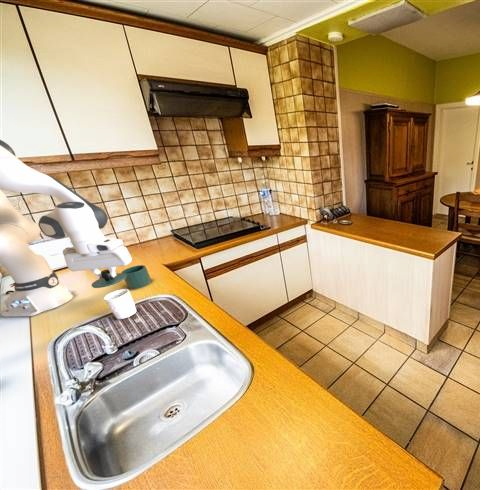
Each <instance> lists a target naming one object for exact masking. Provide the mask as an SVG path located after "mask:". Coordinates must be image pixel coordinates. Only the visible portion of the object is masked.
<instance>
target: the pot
mask: <svg viewBox="0 0 480 490" xmlns="http://www.w3.org/2000/svg"><path fill="white" fill-rule="evenodd" d="M120 273H125V274H126V275H127V277H126V278H125V279H124V280H123V281H124V282H125V285H126V287H127V289H128V290H136V289H137V290H138V289H141V288H144V287H146V286H148V285H149V284H151V283H152V278H151V275H150V273H149V271H148V269H147V267H146V265H143V264H141V265H139V264H138V265H134V266H131V267H128V268H126V269H123V270H122V271H121V272H120Z"/></svg>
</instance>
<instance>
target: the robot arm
mask: <svg viewBox="0 0 480 490" xmlns="http://www.w3.org/2000/svg"><path fill="white" fill-rule="evenodd" d="M4 191H5V192H11V193H27V194H28V193H29V194H43V195H48V196H51V197H54V198H56V199H58V200H59V201H60V202H61V203H58V204H56V205H55V206H54V209H53V210H52V211H51V212H48V213H47V214H44V215H42V216H40V218H39V220H38V223H36V222H35V221H33V220H31V219H28V218H27V217H26V216H24V215H23V214H22V213H21V212H20V211H18V209H16V208H15V206H14V205H13V204H12V203H11V201H10V200H9V198H8V197H7V196H6V194H5V193H4ZM108 220H109V216H108V214H107V212H106V211H105V209H103V208H102V207H100V206H98V205H97V204H95V203H92V202H91V201H89V200H88V199H86V198H85V197H83V196H82V195H80V194H79V193H77V192H76V191H74V190H73V189H72V188H70V187H69V186H67V184H65V183H64V182H62V181H60V180H59V179H57V178H56V177H54V176H52V175H51V174H48V173H43V172H40V171H38V170H36V169H34V168H32V167H30V166H28V165H27V164H25V163H24V162H23V161H21V159H20V158H18V157H17V155H16V153H15V151H14V150H13V148H12V147H11V145H9V144H8V143H7V142H5V141H4V140H2V139H0V265H1V266H2V268H4V269H5V271H6V272H7V273H8V275H9V276H10V277H11V279H12V280H13V283H11V284H9V285H8V286H9V287H10V288H13V287H14V290H7V291H6V292H5V295H9V294H10V293H11V294H10V295H9V296H8V297H7V298H6V300H5V301H4V305H5V307H6V309H5V310H4V311H3V312H2V313H1V317H2V318H3V317H6V318H7V317H10V318H12V317H33V316H37V315H38V314H42V313H44V312H47V311H50V310H53V309H56V308H58V307H60V306H63V305H65V304H67V303H68V302H69V301H71V300H72V299H73V298H74V295H73V294H72V292H71V290H69V289H68V287H67V286H65V285H64V283H63V282H62V281H61V280H60V279H59V276H58V275H57V273H56V272H55V271H54V270H52V268H51V266H50V264H49V263H48V261H47V260H46V258H45V256H43V255H41V254H37V253H35V252H34V251H33V250H32V249H31V248H30V247H29V246H28V245H29V244H31V243H32V242H34V241H36V240H37V238H38V237H39V236H40V235H41V233H42V234H43V235H45V237H48V238H51V239H54V240H62V239H67V238H69V240H70V243H71V245H72V247H71V246H70V247H65V248H64V249H63V250H62V255H63V256H64V261H65V264H66V267H67V268H68V269H69V270H70V271H71V272H80V271H81V272H82V271H89V270H90V272H91V273H92V274H94V275H95V276H97V279H102V278H104V277H103V276H102V274H101V271H102V270H101V269H108V270H109V271H110V273H108V276H109V277H110V278H111V277H115V276H116V274H117V273H116V269H117V268H118V267H126V266H128V265H130V264H131V263H132V261H133V258H132V256H131V254H130V252H129V250H128V248H127V247H126V246H124V245H123V244H124V242H123V240H122V239H121V238H115V237H109V236H105V234H104V233H103V231H102V230H103V229H104V228H105V227H106V225H107V224H108ZM101 229H102V230H101Z"/></svg>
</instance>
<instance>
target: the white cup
mask: <svg viewBox="0 0 480 490" xmlns="http://www.w3.org/2000/svg"><path fill="white" fill-rule="evenodd" d="M103 300H104V302H105V304H106V305H107V307H108V308H109V310H110V312H111V313H112V314H113V315H114V317H115V319H117V320H125V319H127V318H129V317H132V316H133V315H135V314H136V313H137V307H136V304H135V302H134V299H133V296H132V294H131V291H130V289H129V288H122V289H117V290H114V291H112V292H109V293H108V294H106V295H105V296H103Z"/></svg>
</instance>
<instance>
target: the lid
mask: <svg viewBox="0 0 480 490" xmlns="http://www.w3.org/2000/svg"><path fill="white" fill-rule="evenodd" d="M100 271H101V274H102V276H103V277H104V278H102V279H99V278H97V280H95V281H93V282H92V283H91V287H92V288H93V289H102V288H106V287H110V286H113V285H116V284H119V283H120V282H122V281H125V280H124V279H125V278H126V277H127V275H126V274H125V273H121V272H117V273H116V276H115V277H111V278H110V277H109V276H108V273H110V270H108V268H105V269H103V270H100Z"/></svg>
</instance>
